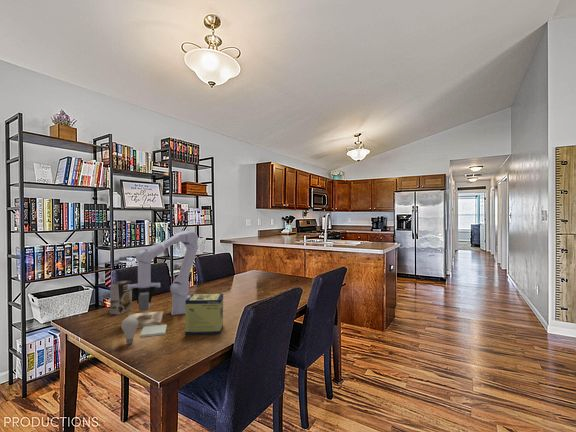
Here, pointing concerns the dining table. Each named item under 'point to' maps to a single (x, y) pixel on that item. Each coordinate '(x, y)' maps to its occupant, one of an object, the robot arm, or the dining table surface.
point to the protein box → (204, 314)
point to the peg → (144, 301)
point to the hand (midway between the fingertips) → (144, 302)
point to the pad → (153, 330)
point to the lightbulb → (129, 328)
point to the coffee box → (120, 297)
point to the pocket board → (148, 318)
